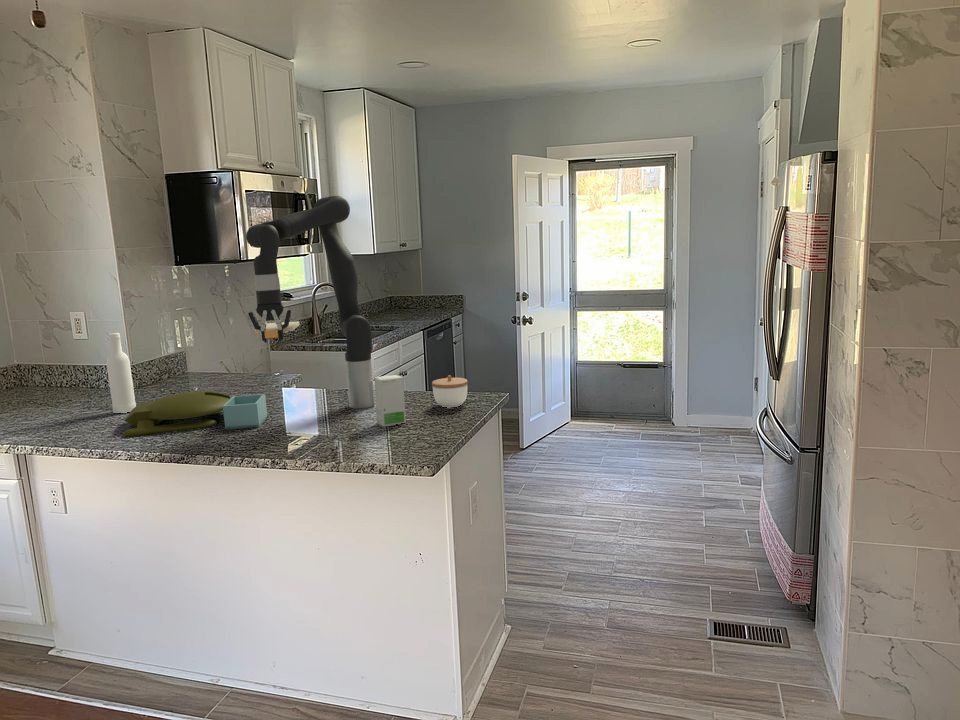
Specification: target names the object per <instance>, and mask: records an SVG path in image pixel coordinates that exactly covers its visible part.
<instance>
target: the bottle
mask: <svg viewBox="0 0 960 720" xmlns="http://www.w3.org/2000/svg"><path fill="white" fill-rule="evenodd" d="M108 340H109V345H110V354H108V355H107V358H106V370H107V376H108V383H109V392H110V397H111V403H112V404H111V407H112V411H113V414H114V413H126V414H128V413H127V412H131V410H132V409H133V408H135V407H136V406H137V404H136V398H135V392H134V390H135V389H134V383H133V382H134V381H133V376H132V369H131V361H130V357H128V354H126V353H125V352H124V351H123V348H122V340H121V334H120V332H111V333H109V334H108Z"/></svg>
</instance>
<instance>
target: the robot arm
mask: <svg viewBox="0 0 960 720" xmlns="http://www.w3.org/2000/svg"><path fill="white" fill-rule="evenodd" d="M350 212H351V207H350V204H349V201H348V200H347V199H346V198H345V197H343V196H340V195H330V196H325V197H322V198H319V199H317V200H316V202H315V203H314V207H313V208H309V209H306V210H301V211H296V212H293V213H290V214H287V215H284V216H281V217H278V218H277V219H273V220H271V221H266V222H262V223H258V224H254V225H252V226H250V227H249V228H248V229H247V231H246V233H245V239H246V242H247V243H248V244H249V246H251V247H253V248H256V249H260V250H259V254H258V255H257V256H255V257H254V259H253V269H254V289H255V297H256V305H257V306H256V309H255V310H252V311H251V310H250V311H249V312H248V313H247V314H248V316H249V319H250V322H251V323H252V325H253V328H254V330H255V329H256V330H260V331H261V333H260V334H261V340H262V342H264V343H268V342H269V341H268V340H269V338H265V332H264V331H265V330H266V325H267V323H268V321H274V323H276V324H277V327H278V329H279V330H278V335H279V337H278V342H280V343H281V342H283V340H284V338H285V335H284V334H285V333H283V329H284V328H287V327H288V326H289V322H291V317H292V315H293V314H292V313H293V309H291V308H285V307H284V306H283V304H282V294H281V293H282V292H281V282H280V277H279V272H278V264H277V261H278V254H279V246H280V241H284V240H288V239H291V238H294V237H295V236H296V237H297V236H298V235H301V234H303V233H306V232H308V231H311V230H312V229H316V228H318V230H319V233H320V235H321V238H322V241H323V247H324V250H325V251H324V252H325V254H326V259H327V264H328V270H329V274H330V279H331V284H332V287H333V291H334V295H335V298H336V302H337V306H338V315H339V323H340V324H339V325H340V331H341V333H342V335H343V336H344V337H345V338H346V351H345V353H344V358H345V359H344V360H345V371H346V383H347V394H348V406H349V407H348V408H351V409H366V408H372V407H376V398H375V383H374V377H373V364H372V351H373V340H372V339H373V337H372V328H371V324H370V321H369V320H368V319H366V318H365V317H364V316H362V314H361V310H360V306H359V302H358V301H359V300H358V287H359V286H358V285H359V283H358V282H359V281H358V272H357V265H356V263H355V259H354V256H353V255H352V253H351V252H350V250H349V249H348V247H347V245H345V243H344V242H343V239H341V236H340V233H339V229H338V223H339V224H340V223H342V222H344V221H346V220H347V219H348V218H349V216H350ZM282 313H284V314H283V315H284V316H285V317H284V318H285V319H284V321H283V322H284V324H283V325H282V323H281V322H282V320H281V315H282ZM257 314H258V315H259V316H260V317H261V325H260V324H259V321H258V319H257V316H258V315H257Z"/></svg>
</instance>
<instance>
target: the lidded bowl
mask: <svg viewBox="0 0 960 720" xmlns="http://www.w3.org/2000/svg"><path fill="white" fill-rule="evenodd" d="M468 383H469V382H468V379H466V378H464V377H452V375H450V374H449V375H447V377H445V378H443V377H442V378H438V379H434V380H432V382H431V386H432V391H433V392H432V393H433V397H434V399H435V402H436V403H437V404H438V405H439V406H440V407H441V406H442V407H447V408H446V409H451V408H450V407H457V406H460V405H461V406H462V405H463V403H464V402H465V401H466V398H467V396H468ZM461 406H460V407H461ZM442 407H441V408H442ZM457 408H458V407H457Z"/></svg>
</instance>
